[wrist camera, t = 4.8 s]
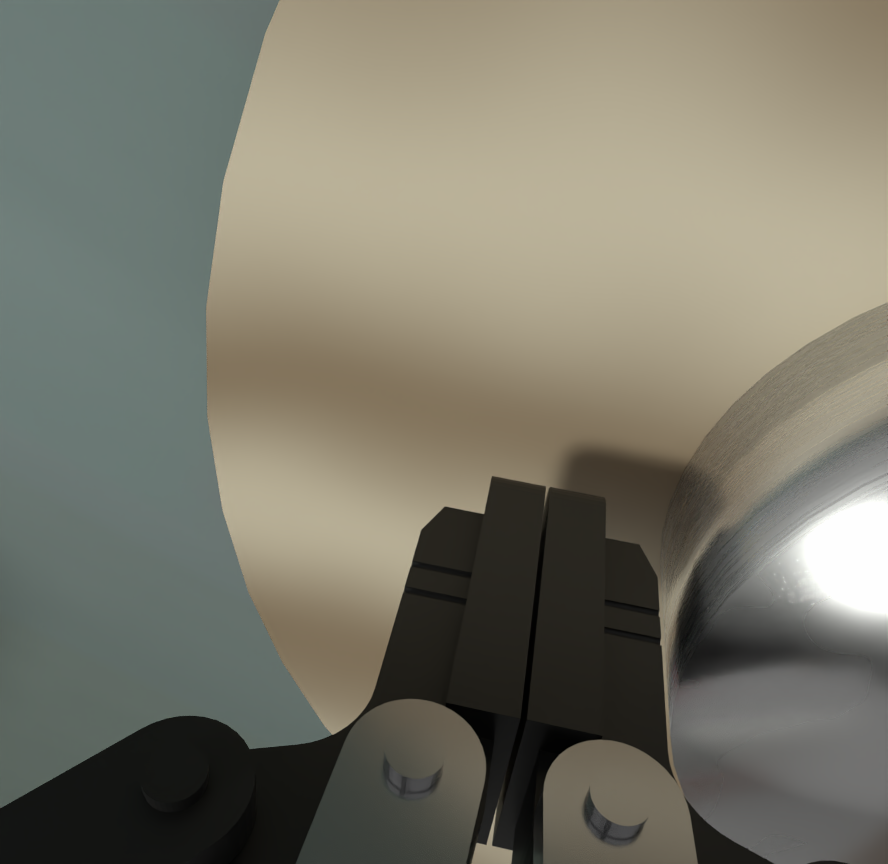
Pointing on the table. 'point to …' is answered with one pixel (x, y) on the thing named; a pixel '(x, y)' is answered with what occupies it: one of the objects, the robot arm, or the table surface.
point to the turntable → (516, 273)
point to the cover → (787, 607)
